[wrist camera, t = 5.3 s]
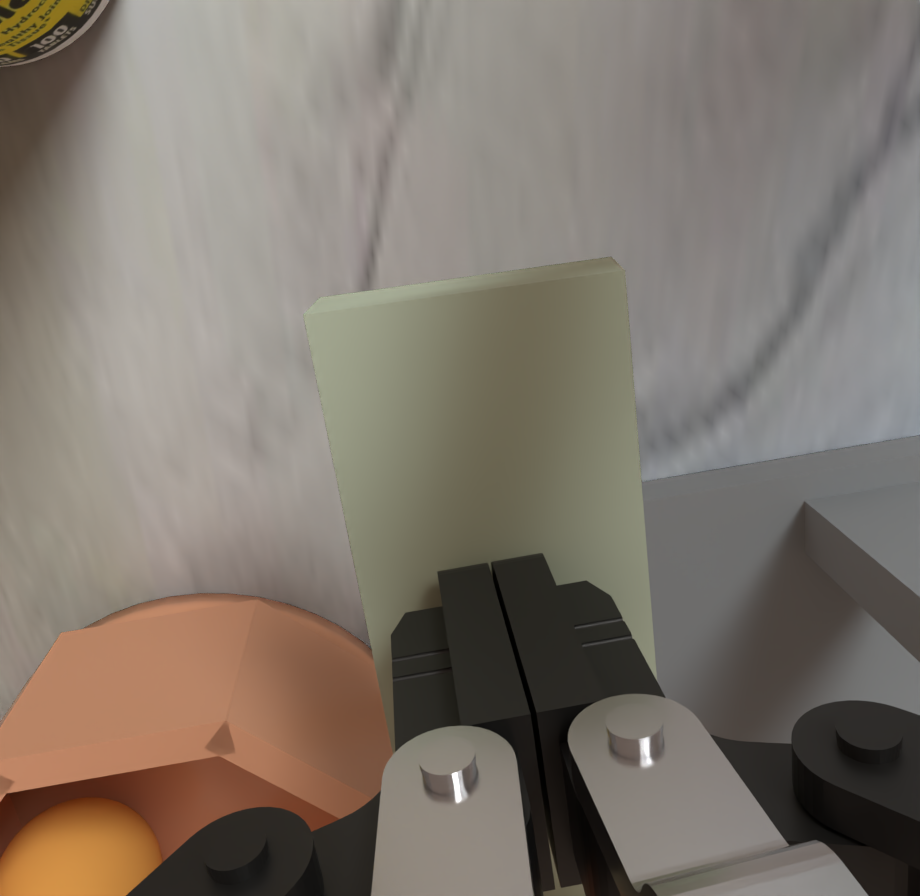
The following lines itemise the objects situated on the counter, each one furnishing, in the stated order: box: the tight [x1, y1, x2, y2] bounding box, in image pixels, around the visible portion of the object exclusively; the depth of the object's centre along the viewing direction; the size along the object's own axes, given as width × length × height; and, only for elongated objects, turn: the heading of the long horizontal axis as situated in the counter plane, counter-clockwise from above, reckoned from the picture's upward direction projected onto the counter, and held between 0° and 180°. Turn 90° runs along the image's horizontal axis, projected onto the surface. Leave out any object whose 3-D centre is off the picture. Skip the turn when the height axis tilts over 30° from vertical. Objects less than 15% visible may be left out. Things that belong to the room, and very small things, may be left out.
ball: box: [0, 797, 163, 896], centre depth 22 cm, size 4×4×4 cm
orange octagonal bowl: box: [0, 593, 393, 862], centre depth 22 cm, size 12×12×6 cm
